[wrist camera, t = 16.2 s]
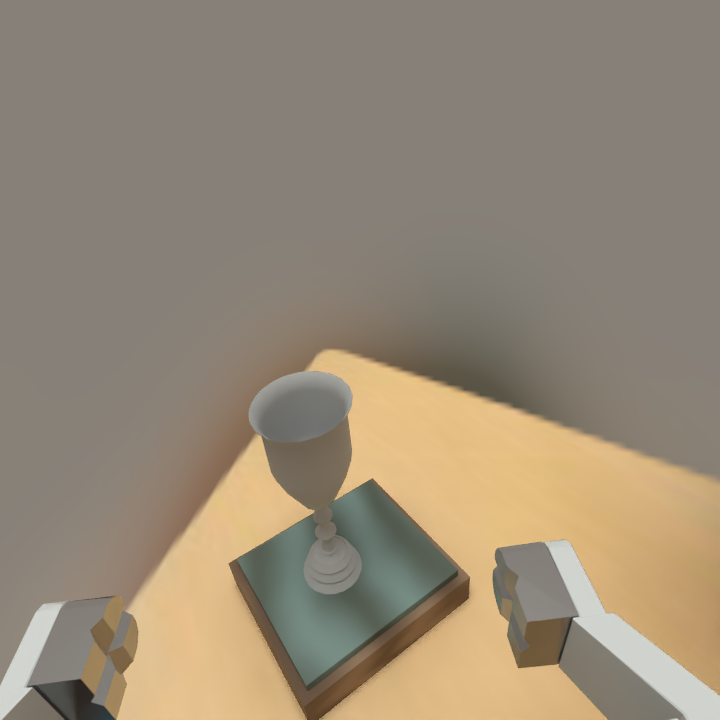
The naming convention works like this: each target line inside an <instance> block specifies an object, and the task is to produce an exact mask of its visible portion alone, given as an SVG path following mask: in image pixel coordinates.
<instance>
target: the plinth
mask: <svg viewBox="0 0 720 720" xmlns="http://www.w3.org/2000/svg"><path fill="white" fill-rule="evenodd" d="M328 508H330V509H331V510H332V512H333V516H332V518H331V520H330V522H333V523H334V524H335V526H336V533H335V535H338V536H341V537H343V538H345V539H346V540H347V541H348V542H349V543H350V544H351V545H352V546H353V547H355V549H356V550H357V551H358V553H359V554H360V557H361V560H362V570H361V573H360V575H359V578H358V579H357V580H356V582H355V583H354V584H353V585H352V586H351V587H350V588H348V589H347V590H345V591H343V592H340V593H337V594H323V593H320V592H317V591H315V590H314V589H313V588H311V587H310V586H309V585H308V583H307V581H306V580H305V576H304V571H303V570H304V563H305V561H306V559H307V556H308V554H309V550H310V548H311V547H312V545H313V544H314V543H315V542H316V541H317V540H318V539H319V538H317V537H316V535H315V529H316V527H317V526H318V525H319V524H318V523H316V522H315V521H314V520H313V514H311V515H310V516H308V517H306V518H305V519H303V520H301V521H300V522H298V523H296V524H294V525H293V526H291V527H289V528H288V529H286V530H284V531H283V532H281V533H279V534H278V535H276V536H274V537H273V538H271V539H269V540H267V541H266V542H264V543H262V544H261V545H259V546H257V547H256V548H254V549H252V550H251V551H249V552H247V553H246V554H244V555H242V556H240V557H239V558H237V559H235V560H234V561H232V562H230V563H229V566H230V568H231V571H232V574H233V576H234V579H235V581H236V584H237V586H238V588H239V590H240V591H241V593H242V595H243V597H244V599H245V601H246V603H247V605H248V607H249V609H250V611H251V613H252V614H253V616H254V618H255V620H256V622H257V624H258V626H259V628H260V630H261V632H262V634H263V636H264V638H265V639H266V641H267V643H268V645H269V647H270V649H271V651H272V653H273V655H274V657H275V659H276V661H277V662H278V664H279V666H280V668H281V670H282V672H283V674H284V676H285V678H286V680H287V682H288V684H289V685H290V687H291V689H292V691H293V693H294V695H295V697H296V699H297V701H298V703H299V705H300V707H301V709H302V710H303V712H304V714H305V716H306V718H307V720H318V719H319V718H321V717H322V716H323V715H324V714H326V713H327V712H328V711H329V710H331V709H332V708H333V707H334V706H336V705H337V704H338V703H339V702H341V701H342V700H343V699H344V698H345V697H347V696H348V695H349V694H350V693H352V692H353V691H354V690H355V689H357V688H358V687H359V686H360V685H362V684H363V683H364V682H365V681H367V680H368V679H369V678H370V677H372V676H373V675H374V674H375V673H376V672H378V671H379V670H380V669H381V668H383V667H384V666H385V665H386V664H388V663H389V662H390V661H391V660H393V659H394V658H395V657H396V656H398V655H399V654H400V653H401V652H402V651H404V650H405V649H406V648H407V647H409V646H410V645H411V644H412V643H414V642H415V641H416V640H417V639H419V638H420V637H421V636H422V635H424V634H425V633H426V632H427V631H428V630H430V629H431V628H432V627H433V626H435V625H436V624H437V623H438V622H440V621H441V620H442V619H443V618H445V617H446V616H447V615H448V614H450V613H451V612H452V611H453V610H455V609H456V608H457V607H458V606H459V605H461V604H462V603H463V602H464V601H466V600H467V599H468V597H469V583H470V577H469V576H468V575H467V574H466V573H465V572H464V571H463V570H462V569H461V568H460V567H459V566H458V564H457V563H456V562H455V561H454V560H453V559H452V558H451V557H450V556H449V555H448V554H447V553H446V552H445V551H444V550H443V549H442V548H441V547H440V546H439V545H438V544H437V543H436V542H435V541H434V540H433V539H432V538H431V537H430V536H429V535H428V534H427V533H426V532H425V531H424V530H423V529H422V528H421V527H420V526H419V525H418V524H417V523H416V522H415V521H414V520H413V519H412V518H411V517H410V516H409V515H408V514H407V513H406V512H405V511H404V510H403V509H402V508H401V507H400V506H399V505H398V504H397V503H396V502H395V501H394V500H393V499H392V498H391V497H390V496H389V495H388V494H387V493H386V492H385V491H384V490H383V489H382V488H381V487H380V486H379V485H378V484H377V482H376V481H375V480H374V479H373V478H372V479H370V480H369V481H367V482H365V483H364V484H362V485H360V486H359V487H357V488H355V489H354V490H352V491H350V492H349V493H347V494H345V495H343V496H342V497H340V498H338V499H337V500H335V501H333V502H332V503H331V504H330V505H329V506H328Z"/></svg>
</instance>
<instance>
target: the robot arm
mask: <svg viewBox="0 0 720 720" xmlns="http://www.w3.org/2000/svg"><path fill="white" fill-rule="evenodd" d="M495 560H496V563H497V567H496V568H495V569H494V570H493V587H494V594H495V598H496V602H497V605H498V608H499V612H500V614H501V615H502V616H503V617H504V618H505V619H506V620H507V621H508V622H509V627H508V633H507V636H508V639H509V642H510V645H511V648H512V651H513V654H514V657H515V660H516V663H517V666H518V668H526V667H536V666H546V665H556V664H559V668H560V669H561V670H562V671H563V672H564V673H565V674H566V675H567V676H568V677H569V678H570V679H571V680H572V681H573V683H574V684H575V685H576V686H577V687H578V688H579V689H580V690H581V691H582V692H583V693H584V694H585V695H586V696H587V697H588V699H589V700H590V701H591V702H592V703H593V704H594V705H595V706H596V707H597V708H598V709H599V710H600V711H601V712H602V713H603V715H604V716H605V717H606V718H607V719H608V720H720V696H719V695H718V694H717V693H715V692H714V691H713V690H711V689H710V688H709V687H708V686H706V685H705V684H704V683H703V682H701V681H700V680H699V679H698V678H696V677H695V676H694V675H692V674H691V673H690V672H689V671H687V670H686V669H685V668H684V667H682V666H681V665H680V664H678V663H677V662H676V661H675V660H673V659H672V658H671V657H670V656H668V655H667V654H666V653H664V652H663V651H662V650H661V649H659V648H658V647H657V646H656V645H654V644H653V643H652V642H650V641H649V640H648V639H647V638H645V637H644V636H643V635H642V634H640V633H639V632H638V631H636V630H635V629H634V628H633V627H631V626H630V625H629V624H628V623H626V622H625V621H624V620H623V619H621V618H620V617H619V616H617V615H616V614H615V613H606V611H605V609H604V607H603V605H602V603H601V601H600V599H599V597H598V595H597V593H596V592H595V590H594V588H593V586H592V584H591V582H590V580H589V578H588V576H587V574H586V572H585V570H584V568H583V566H582V564H581V562H580V561H579V559H578V557H577V555H576V553H575V551H574V549H573V547H572V545H571V544H570V543H569V542H568V541H567V540H564V539H562V540H554V541H547V542H536V543H529V544H522V545H515V546H508V547H501V548H497V549H496V551H495ZM124 605H125V603H124V602H123V600H122V599H121V598H120V596H119V595H117V596H110V597H101V598H94V599H84V600H76V601H64V602H57V603H49V604H43V605H42V606H41V607H40V608H39V610H38V611H37V612H36V613H35V615H34V617H33V619H32V621H31V623H30V625H29V627H28V629H27V631H26V633H25V635H24V637H23V639H22V641H21V643H20V646H19V648H18V650H17V652H16V654H15V656H14V658H13V660H12V662H11V664H10V666H9V668H8V670H7V672H6V675H5V677H4V679H3V681H2V683H1V685H0V720H116V719H117V716H118V713H119V709H120V706H121V702H122V699H123V695H124V692H125V688H126V685H127V683H126V681H125V678H124V676H123V672H124V671H125V670H126V669H127V668H128V667H129V665H130V664H131V663H132V662H133V660H134V657H135V653H136V649H137V643H138V628H137V623H136V620H135V619H134V617H133V615H131V614H129V613H127V612H125V611H123V608H124Z"/></svg>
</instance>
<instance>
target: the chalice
mask: <svg viewBox="0 0 720 720" xmlns="http://www.w3.org/2000/svg"><path fill="white" fill-rule="evenodd" d="M352 397H353V395H352V393H351V390H350V387H349V386H348V385H347V384H346V383H345V382H344V381H343V380H342V379H341V378H339V377H337V376H335V375H333V374H330V373H325V372H319V371H307V372H298V373H294V374H290V375H286V376H284V377H282V378H280V379H277V380H275V381H273V382H271V383H270V384H269V385H267V386H266V387H265V388H263V389H262V390H261V391H260V392H259V393H258V394H257V396H256V397H255V398H254V399H253V401H252V404H251V406H250V409H249V422H250V423H251V425H252V427H253V428H254V430H255V431H256V432H257V433H258V434H259V435H260V436H262V440H263V443H264V447H265V451H266V455H267V458H268V462H269V466H270V470H271V473H272V474H273V476H274V478H275V479H276V481H277V482H278V483H279V484H280V485H281V487H282V488H283V489H284V490H285V491H286V492H287V493H288V494H289V495H290V496H292V497H293V498H294V499H296V500H297V501H298V502H300V503H301V504H302V505H304V506H305V507H307V508H308V509H312V510H315V512H314V513H313V520H314V521H315V522H316V523H318V524H319V525H318V526H317V527H316V529H315V535H316V537H317V538H319V539H318V540H317V541H316V542H315V543H314V544H313V545H312V547H311V548H310V550H309V554H308V556H307V559H306V561H305V563H304V570H303V571H304V576H305V580H306V581H307V583H308V585H309V586H310V587H311V588H313V589H314V590H315V591H317V592H320V593H323V594H337V593H340V592H343V591H345V590H347V589H348V588H350V587H351V586H352V585H353V584H354V583H355V582H356V580H357V579H358V578H359V575H360V573H361V570H362V560H361V557H360V554H359V553H358V551H357V550H356V549H355V547H353V546H352V545H351V544H350V543H349V542H348V541H347V540H346V539H345V538H343V537H341V536H338V535H335V533H336V526H335V524H334V523H333V522H330V520H331V518H332V516H333V512H332V510H331V509H330V508H328V506H329V505H330V504H331V503H332V502H333V501H334V500H335V498H336V496H337V494H338V492H339V490H340V488H341V486H342V484H343V482H344V480H345V478H346V475H347V472H348V468H349V465H350V462H351V456H352V446H351V438H350V430H349V423H348V413H349V411H350V409H351V406H352Z"/></svg>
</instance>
